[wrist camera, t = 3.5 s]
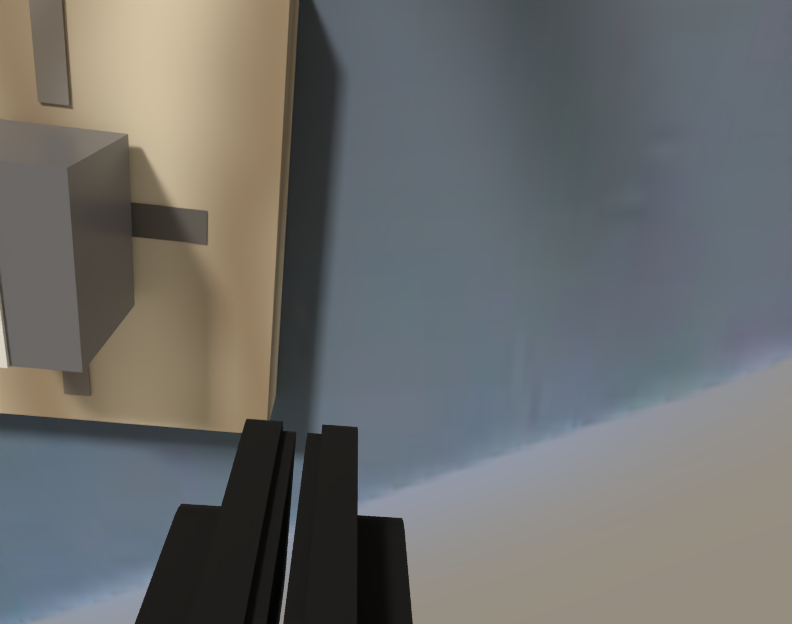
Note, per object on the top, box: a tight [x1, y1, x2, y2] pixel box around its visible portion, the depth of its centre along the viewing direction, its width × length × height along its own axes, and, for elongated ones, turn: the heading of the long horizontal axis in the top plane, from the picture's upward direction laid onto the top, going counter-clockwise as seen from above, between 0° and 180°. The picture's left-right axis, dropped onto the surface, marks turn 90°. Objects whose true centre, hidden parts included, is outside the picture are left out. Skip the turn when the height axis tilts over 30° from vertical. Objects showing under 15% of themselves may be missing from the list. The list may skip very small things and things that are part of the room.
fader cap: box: [0, 119, 135, 373], centre depth 17 cm, size 4×5×4 cm
